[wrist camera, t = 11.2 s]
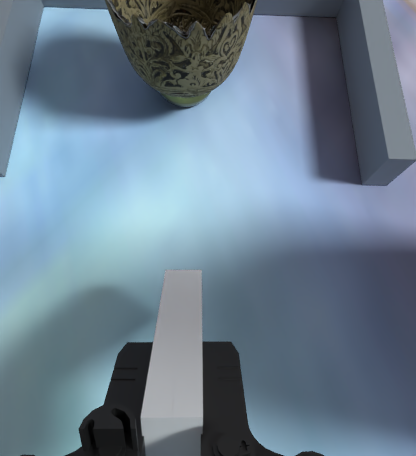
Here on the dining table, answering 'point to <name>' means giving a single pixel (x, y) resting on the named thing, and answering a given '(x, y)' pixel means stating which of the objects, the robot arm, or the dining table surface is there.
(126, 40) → the cup
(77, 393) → the dining table surface
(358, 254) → the dining table surface
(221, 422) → the robot arm
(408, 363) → the dining table surface
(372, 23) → the corral
